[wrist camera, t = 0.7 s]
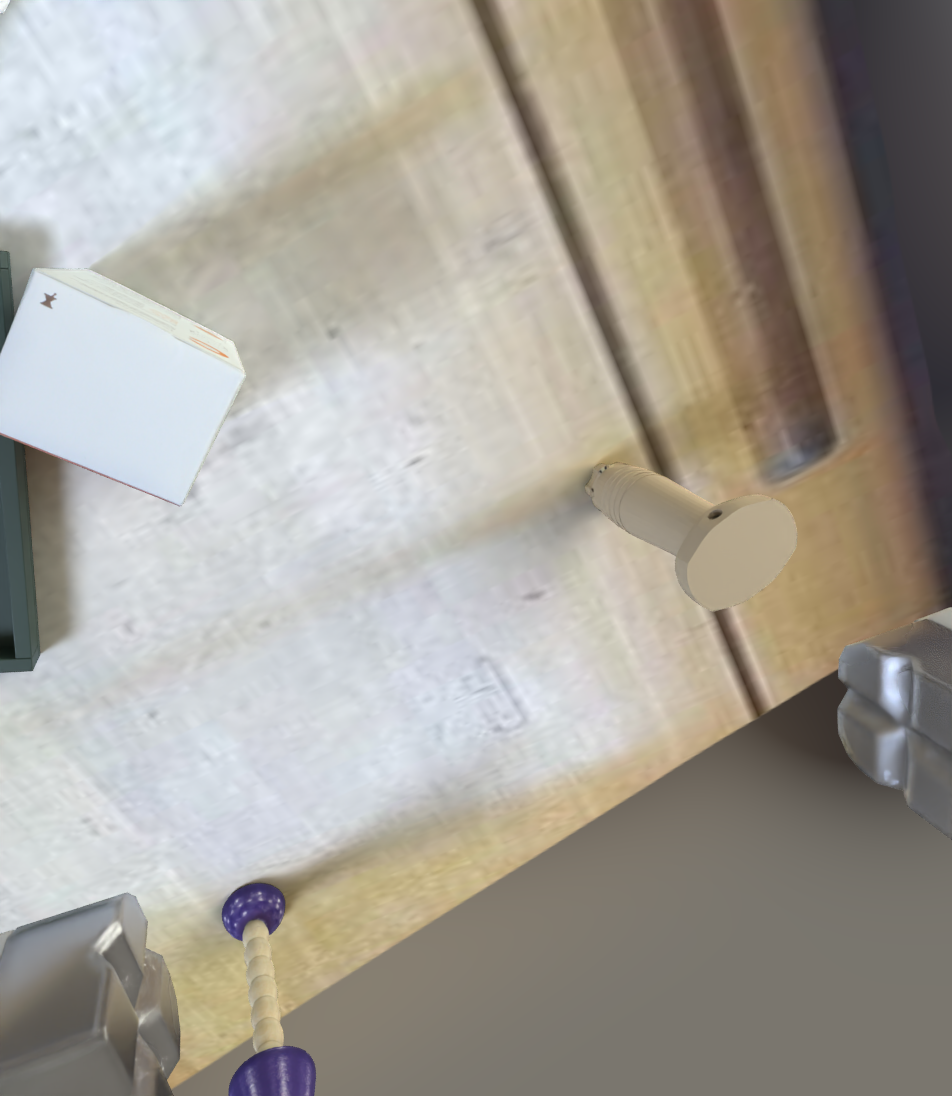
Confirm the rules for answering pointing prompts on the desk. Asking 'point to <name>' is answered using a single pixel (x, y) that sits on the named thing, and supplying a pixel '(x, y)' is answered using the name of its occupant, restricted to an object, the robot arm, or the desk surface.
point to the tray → (15, 532)
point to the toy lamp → (265, 999)
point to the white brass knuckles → (3, 5)
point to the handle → (699, 532)
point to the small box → (115, 382)
